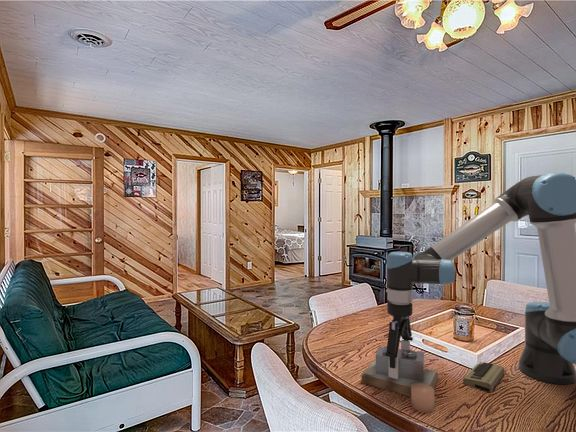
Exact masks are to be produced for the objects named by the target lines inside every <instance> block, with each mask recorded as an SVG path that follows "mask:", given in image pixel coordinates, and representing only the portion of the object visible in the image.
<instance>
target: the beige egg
mask: <svg viewBox="0 0 576 432" xmlns="http://www.w3.org/2000/svg"><path fill="white" fill-rule="evenodd" d="M410 401H411V402H410V404H411V407H412V408H413V409H414V410H415V411H418V412H420V413H424V414H428V413H432V412H434V411H435V389H433V387H431V386H430V385H427V384H424V383H415V384H412V385H411V397H410Z"/></svg>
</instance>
